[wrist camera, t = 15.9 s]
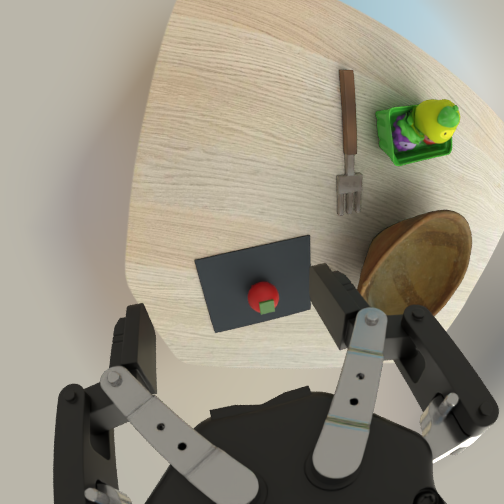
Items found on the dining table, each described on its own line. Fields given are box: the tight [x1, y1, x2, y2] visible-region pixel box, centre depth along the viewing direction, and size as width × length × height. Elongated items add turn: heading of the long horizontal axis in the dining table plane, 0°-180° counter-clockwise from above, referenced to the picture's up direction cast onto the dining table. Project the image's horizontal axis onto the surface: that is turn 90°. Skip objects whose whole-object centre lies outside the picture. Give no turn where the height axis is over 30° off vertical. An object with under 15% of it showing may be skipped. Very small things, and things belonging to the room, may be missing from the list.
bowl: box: [357, 210, 472, 316], centre depth 42 cm, size 22×23×10 cm
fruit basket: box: [375, 99, 460, 166], centre depth 31 cm, size 11×9×11 cm
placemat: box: [195, 235, 311, 333], centre depth 44 cm, size 16×14×1 cm
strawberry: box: [248, 282, 279, 315], centre depth 42 cm, size 4×4×4 cm
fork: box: [337, 70, 362, 216], centre depth 35 cm, size 20×4×1 cm, turn 7°
